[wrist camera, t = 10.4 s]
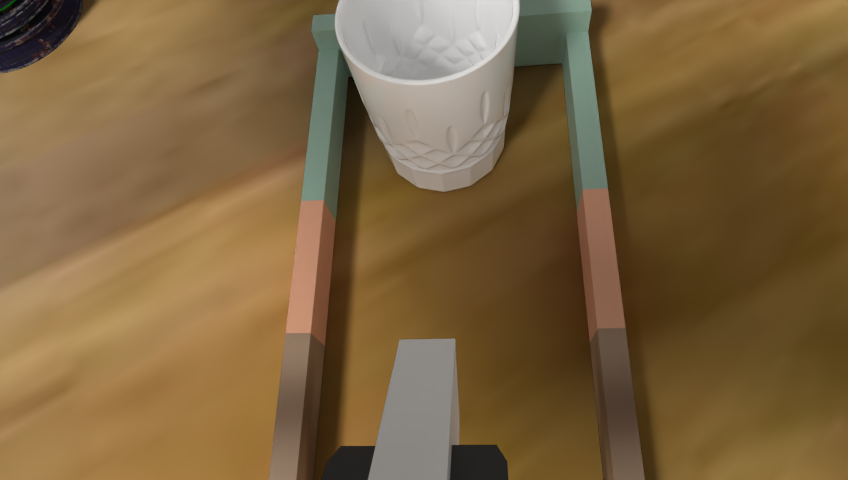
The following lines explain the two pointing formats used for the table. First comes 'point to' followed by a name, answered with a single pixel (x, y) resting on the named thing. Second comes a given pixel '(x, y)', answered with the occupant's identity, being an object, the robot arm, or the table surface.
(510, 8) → the white cup
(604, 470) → the lane walls
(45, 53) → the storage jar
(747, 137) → the table surface
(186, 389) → the table surface
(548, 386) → the table surface
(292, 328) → the walls
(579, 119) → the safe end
